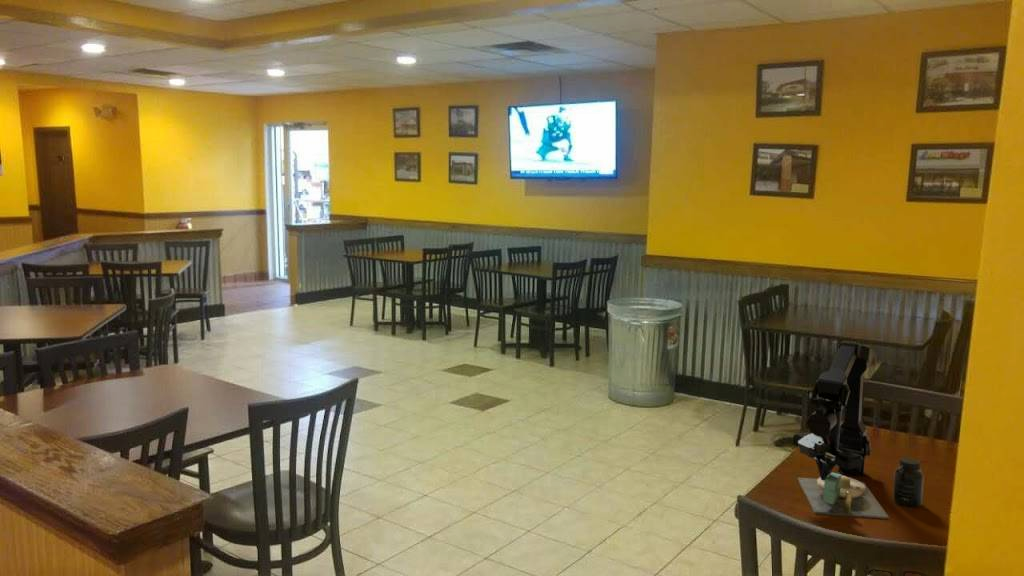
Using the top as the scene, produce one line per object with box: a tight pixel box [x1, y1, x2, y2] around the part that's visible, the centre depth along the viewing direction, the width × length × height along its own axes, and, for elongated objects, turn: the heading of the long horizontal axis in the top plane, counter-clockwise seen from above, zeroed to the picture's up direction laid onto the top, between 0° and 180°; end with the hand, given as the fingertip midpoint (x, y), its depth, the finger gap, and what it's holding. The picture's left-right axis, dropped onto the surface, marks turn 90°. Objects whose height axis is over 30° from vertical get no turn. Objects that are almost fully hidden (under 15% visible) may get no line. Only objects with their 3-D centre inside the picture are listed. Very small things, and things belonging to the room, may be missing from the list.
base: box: [796, 477, 890, 520], centre depth 199 cm, size 18×22×6 cm
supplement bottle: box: [892, 457, 925, 509], centre depth 196 cm, size 7×7×12 cm
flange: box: [817, 471, 866, 504], centre depth 197 cm, size 18×12×6 cm
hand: (823, 480), depth 194 cm, fingers closed
